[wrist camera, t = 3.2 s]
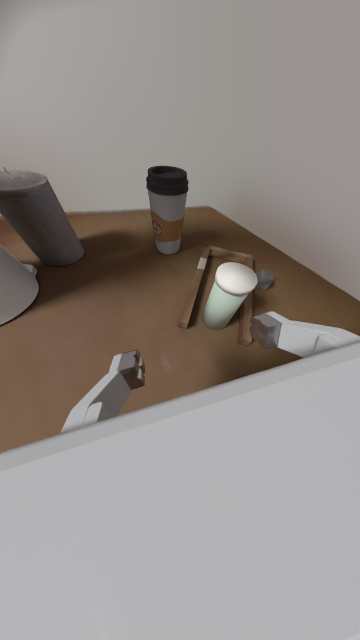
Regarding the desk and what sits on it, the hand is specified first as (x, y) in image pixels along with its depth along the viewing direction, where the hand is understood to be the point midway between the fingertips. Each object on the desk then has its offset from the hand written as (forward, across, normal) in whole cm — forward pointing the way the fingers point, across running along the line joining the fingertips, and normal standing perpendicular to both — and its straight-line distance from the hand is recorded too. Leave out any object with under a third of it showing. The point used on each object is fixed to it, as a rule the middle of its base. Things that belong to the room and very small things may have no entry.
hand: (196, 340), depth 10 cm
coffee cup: (+36, -3, -4) cm, 37 cm away
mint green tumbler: (+15, -7, +8) cm, 19 cm away
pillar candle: (+36, +22, -8) cm, 43 cm away
